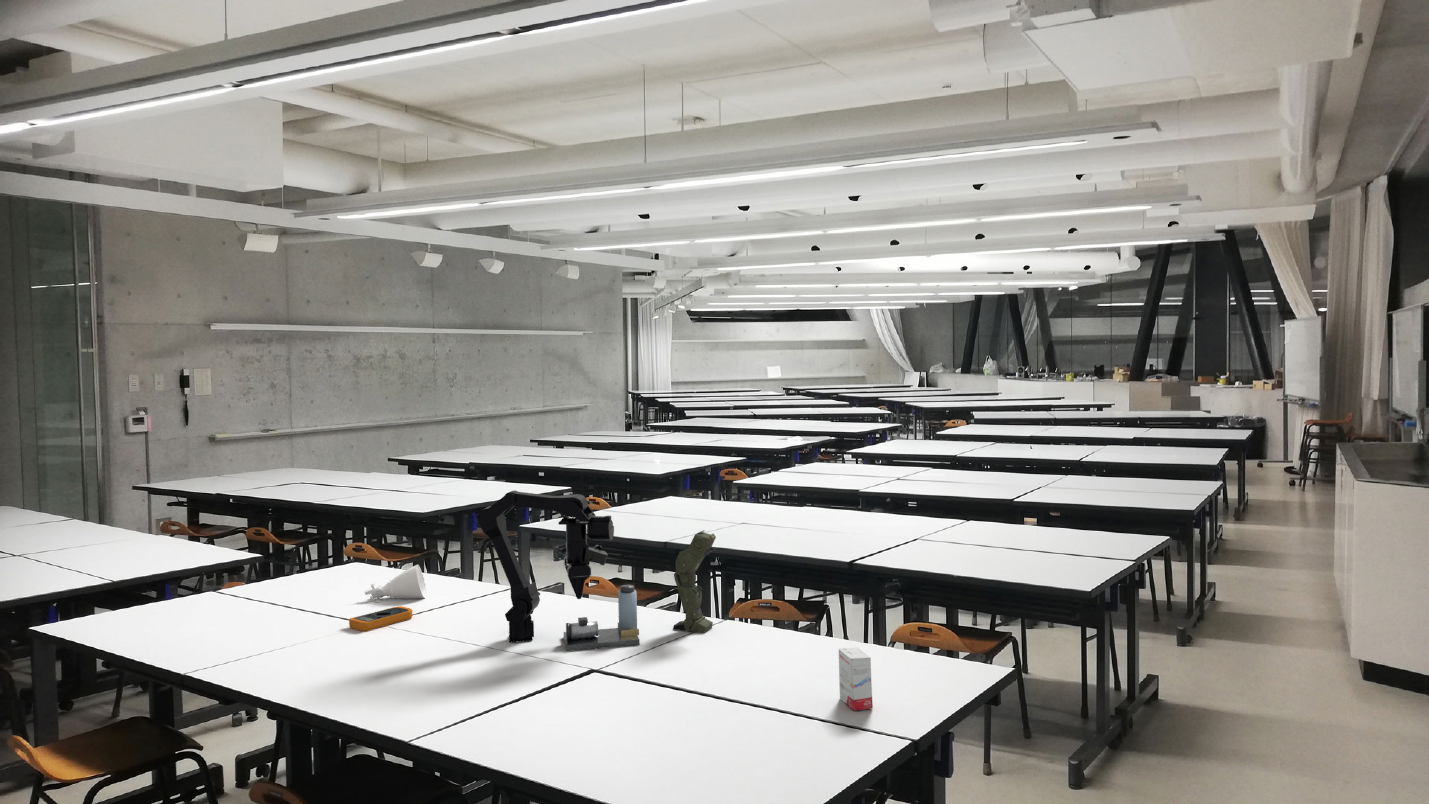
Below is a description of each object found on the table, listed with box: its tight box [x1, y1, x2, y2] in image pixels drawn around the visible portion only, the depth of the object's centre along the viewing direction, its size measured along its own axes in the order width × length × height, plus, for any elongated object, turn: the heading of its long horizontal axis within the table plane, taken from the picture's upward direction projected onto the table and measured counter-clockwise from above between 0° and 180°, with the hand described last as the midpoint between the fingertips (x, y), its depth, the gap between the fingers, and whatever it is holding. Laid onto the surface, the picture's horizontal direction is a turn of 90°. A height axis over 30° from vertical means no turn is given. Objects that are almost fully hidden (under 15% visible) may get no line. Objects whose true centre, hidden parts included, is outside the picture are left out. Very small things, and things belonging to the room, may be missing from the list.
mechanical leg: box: [672, 529, 717, 634], centre depth 271 cm, size 14×7×30 cm, turn 68°
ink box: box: [838, 646, 874, 712], centre depth 211 cm, size 9×5×12 cm, turn 13°
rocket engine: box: [364, 564, 427, 603], centre depth 313 cm, size 12×12×18 cm
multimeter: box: [348, 605, 413, 633], centre depth 284 cm, size 9×18×3 cm, turn 144°
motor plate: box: [563, 616, 641, 652], centre depth 262 cm, size 20×13×7 cm, turn 103°
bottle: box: [617, 584, 638, 633], centre depth 265 cm, size 5×5×13 cm
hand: (577, 594), depth 262 cm, fingers open, 9 cm apart
